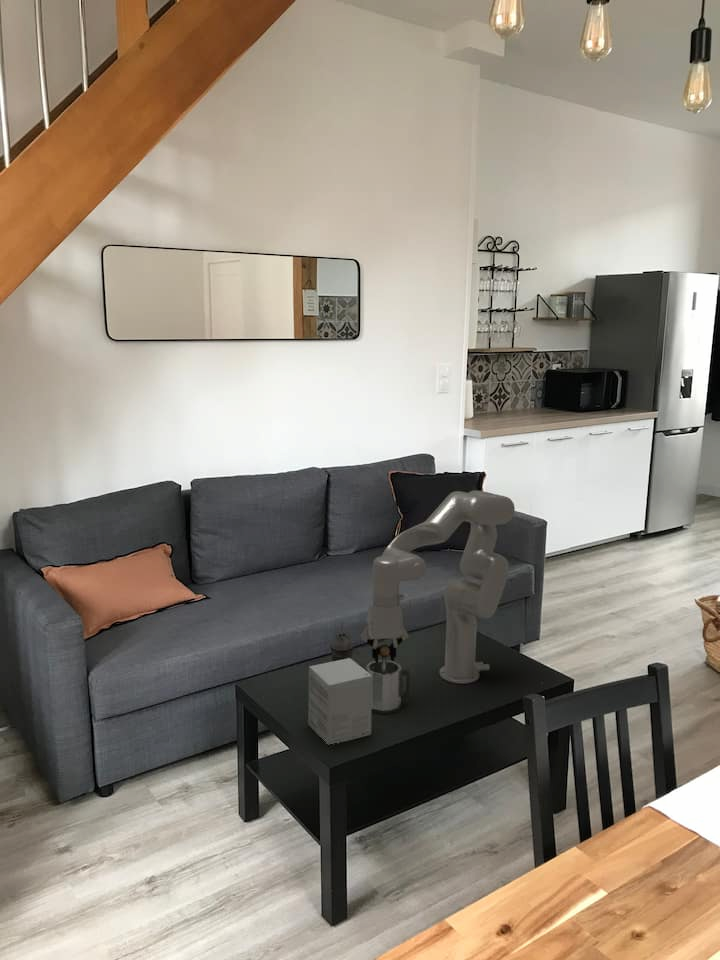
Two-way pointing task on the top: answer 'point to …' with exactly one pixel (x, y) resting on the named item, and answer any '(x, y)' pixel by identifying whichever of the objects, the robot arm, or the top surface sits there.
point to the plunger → (384, 654)
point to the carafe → (387, 686)
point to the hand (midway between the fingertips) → (384, 659)
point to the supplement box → (340, 701)
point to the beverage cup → (341, 646)
